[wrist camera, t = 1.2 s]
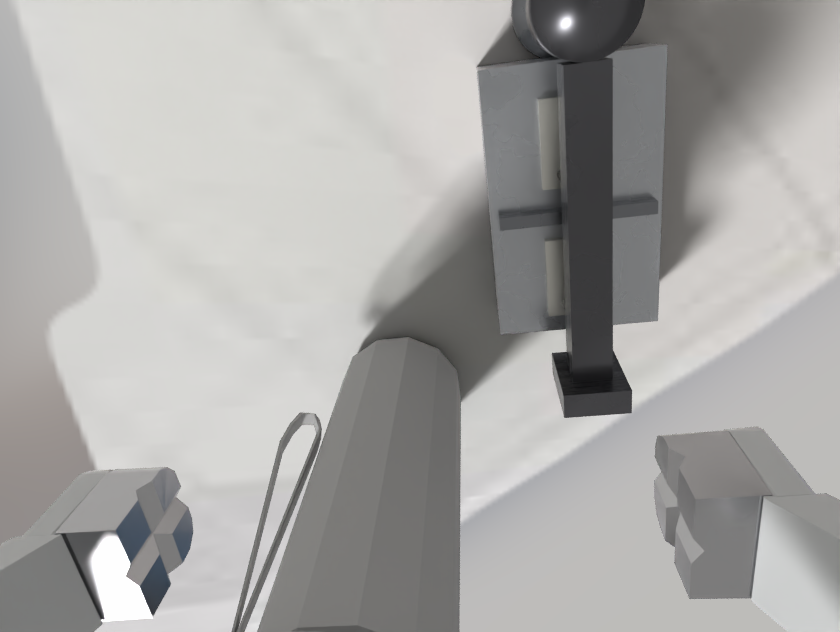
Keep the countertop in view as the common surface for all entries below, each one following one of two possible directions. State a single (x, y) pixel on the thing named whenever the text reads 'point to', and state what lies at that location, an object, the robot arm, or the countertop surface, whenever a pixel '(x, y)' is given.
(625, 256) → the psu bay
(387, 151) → the countertop surface
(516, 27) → the grey round knob
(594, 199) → the bar
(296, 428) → the water bottle
